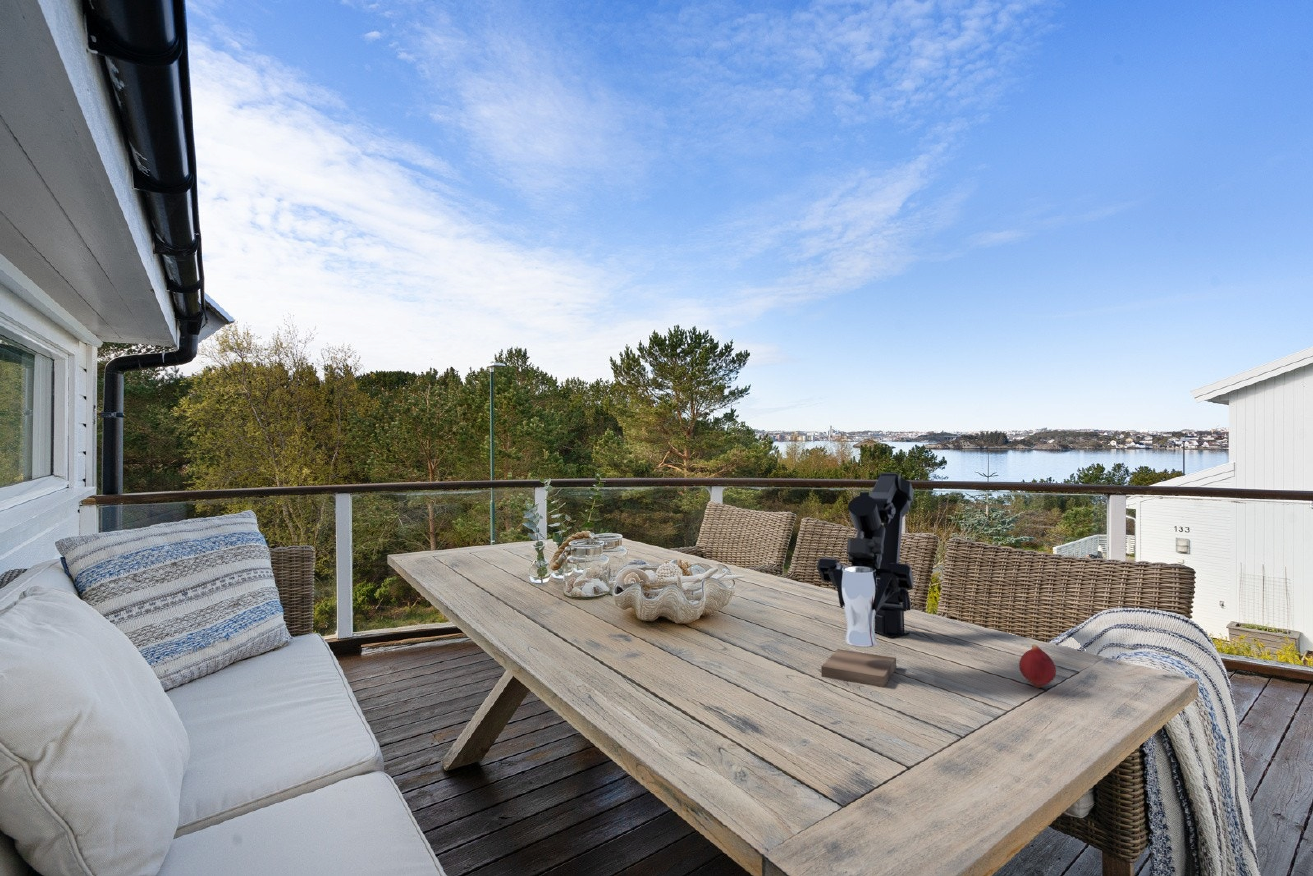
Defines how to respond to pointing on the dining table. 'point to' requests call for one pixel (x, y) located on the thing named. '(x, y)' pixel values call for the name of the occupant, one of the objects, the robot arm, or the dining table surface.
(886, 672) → the walnut board
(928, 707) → the dining table surface
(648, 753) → the dining table surface
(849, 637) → the beer glass
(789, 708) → the dining table surface
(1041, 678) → the onion
